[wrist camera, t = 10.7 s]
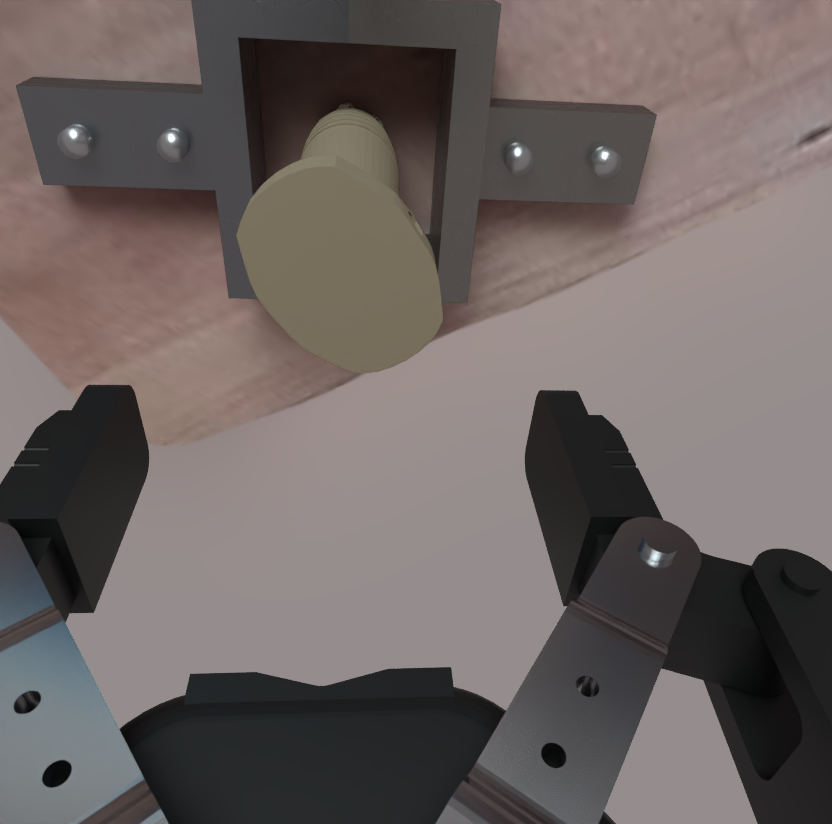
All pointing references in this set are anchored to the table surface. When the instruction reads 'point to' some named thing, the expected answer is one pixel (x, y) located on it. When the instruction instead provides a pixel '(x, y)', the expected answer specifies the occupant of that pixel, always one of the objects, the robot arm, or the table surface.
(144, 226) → the table surface
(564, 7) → the table surface
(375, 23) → the bracket
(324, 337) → the handle
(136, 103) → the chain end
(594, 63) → the table surface
